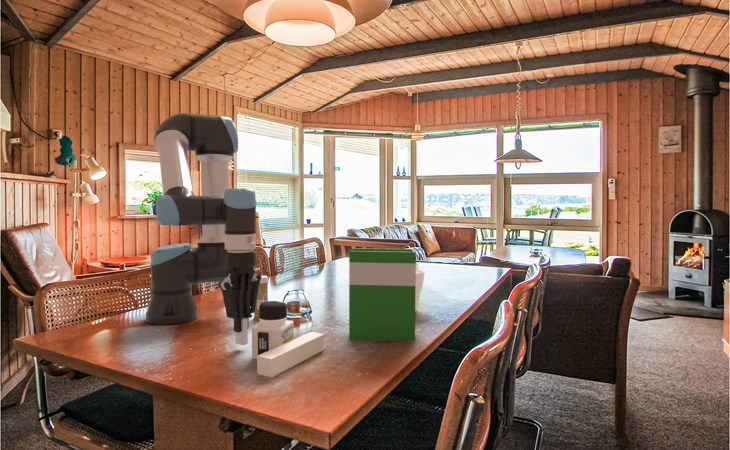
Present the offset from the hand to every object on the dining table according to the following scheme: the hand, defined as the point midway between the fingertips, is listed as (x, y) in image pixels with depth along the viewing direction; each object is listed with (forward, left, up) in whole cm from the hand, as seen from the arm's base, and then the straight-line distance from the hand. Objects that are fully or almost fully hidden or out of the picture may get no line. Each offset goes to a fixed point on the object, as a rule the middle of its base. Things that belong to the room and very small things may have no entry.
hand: (241, 343), depth 112 cm
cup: (+22, +57, -2) cm, 61 cm away
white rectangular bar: (+17, 0, -1) cm, 17 cm away
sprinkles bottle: (-15, +25, -2) cm, 29 cm away
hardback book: (+27, +27, -2) cm, 38 cm away
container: (+10, +1, -2) cm, 10 cm away
